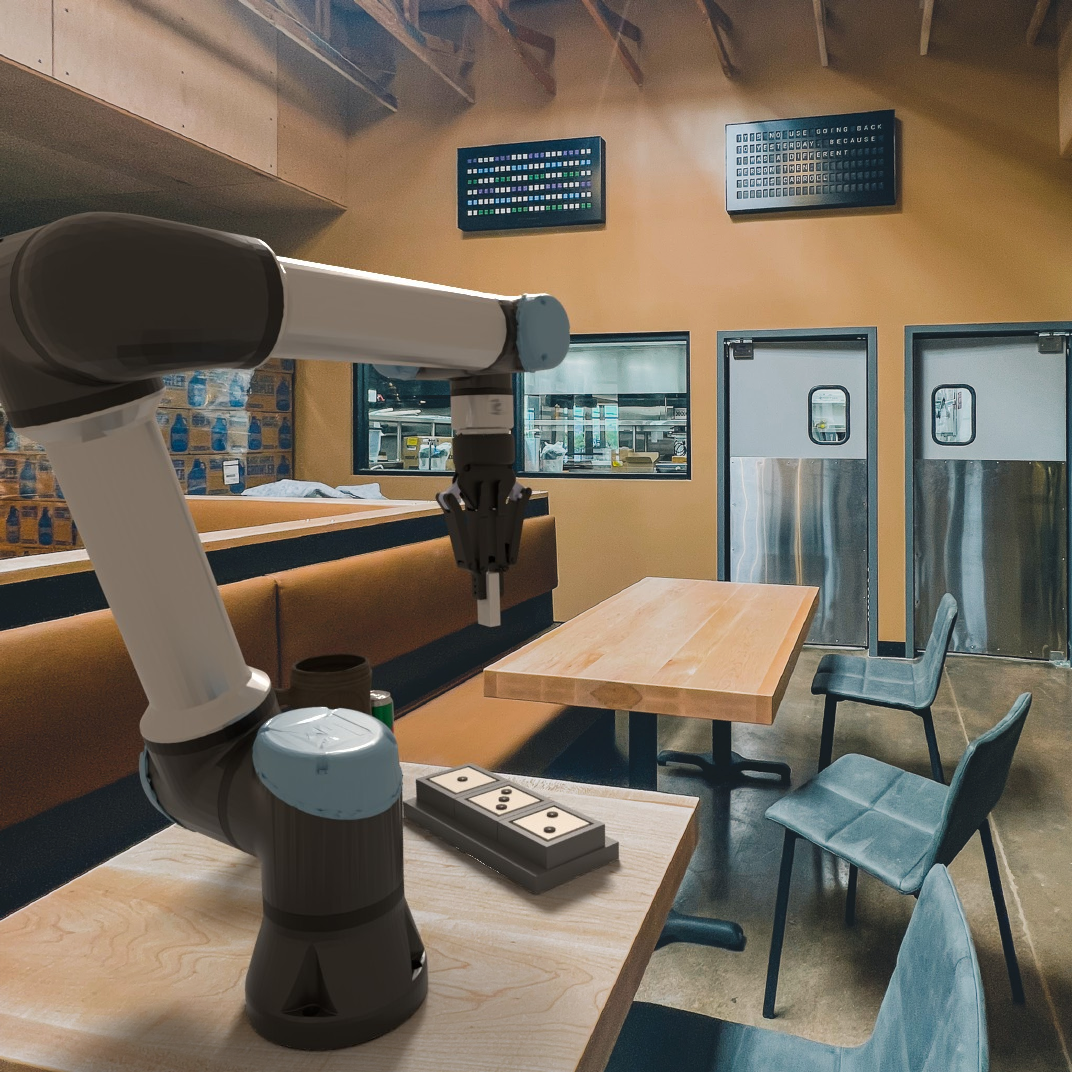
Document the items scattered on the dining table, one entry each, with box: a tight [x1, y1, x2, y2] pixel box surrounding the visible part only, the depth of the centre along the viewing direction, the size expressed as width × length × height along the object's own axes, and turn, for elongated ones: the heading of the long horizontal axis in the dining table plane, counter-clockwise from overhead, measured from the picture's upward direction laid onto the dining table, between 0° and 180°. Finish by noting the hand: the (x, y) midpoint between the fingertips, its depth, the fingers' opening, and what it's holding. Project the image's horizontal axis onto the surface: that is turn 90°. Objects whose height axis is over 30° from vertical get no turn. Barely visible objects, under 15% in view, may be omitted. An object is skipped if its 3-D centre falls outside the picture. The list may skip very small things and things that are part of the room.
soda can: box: [370, 690, 395, 735], centre depth 124 cm, size 5×5×12 cm
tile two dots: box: [513, 807, 590, 842], centre depth 99 cm, size 6×6×3 cm
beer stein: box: [272, 653, 373, 716], centre depth 111 cm, size 15×11×20 cm
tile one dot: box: [429, 767, 496, 795], centre depth 112 cm, size 6×6×3 cm
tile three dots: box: [468, 786, 540, 817], centre depth 106 cm, size 6×6×3 cm
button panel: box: [403, 762, 620, 896], centre depth 106 cm, size 12×26×4 cm, turn 39°
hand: (489, 624), depth 111 cm, fingers closed
